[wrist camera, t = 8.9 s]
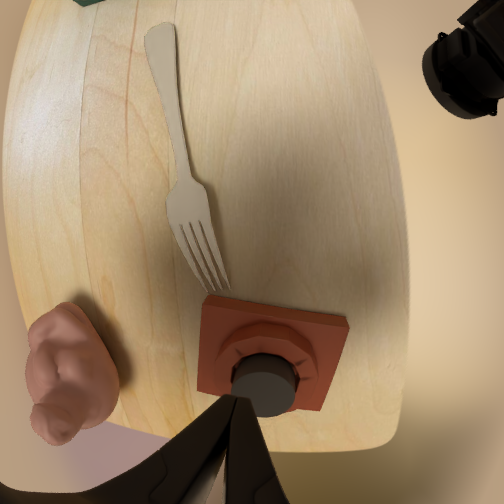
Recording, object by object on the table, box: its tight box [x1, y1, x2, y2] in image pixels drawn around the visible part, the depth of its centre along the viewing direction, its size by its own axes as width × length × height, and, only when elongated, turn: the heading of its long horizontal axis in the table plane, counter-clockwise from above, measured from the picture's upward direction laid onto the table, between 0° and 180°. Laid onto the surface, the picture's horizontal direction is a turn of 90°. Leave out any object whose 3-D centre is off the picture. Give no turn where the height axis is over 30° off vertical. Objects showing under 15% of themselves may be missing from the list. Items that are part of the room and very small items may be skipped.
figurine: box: [25, 302, 120, 446], centre depth 18 cm, size 9×11×12 cm
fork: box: [144, 22, 231, 292], centre depth 18 cm, size 3×21×3 cm, turn 13°
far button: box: [231, 354, 295, 417], centre depth 17 cm, size 4×4×2 cm
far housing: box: [197, 295, 350, 413], centre depth 20 cm, size 10×8×4 cm
